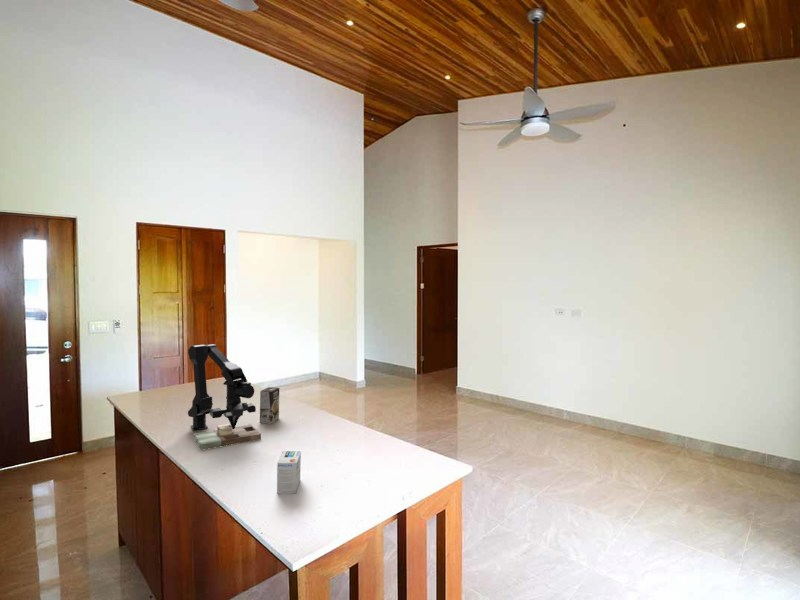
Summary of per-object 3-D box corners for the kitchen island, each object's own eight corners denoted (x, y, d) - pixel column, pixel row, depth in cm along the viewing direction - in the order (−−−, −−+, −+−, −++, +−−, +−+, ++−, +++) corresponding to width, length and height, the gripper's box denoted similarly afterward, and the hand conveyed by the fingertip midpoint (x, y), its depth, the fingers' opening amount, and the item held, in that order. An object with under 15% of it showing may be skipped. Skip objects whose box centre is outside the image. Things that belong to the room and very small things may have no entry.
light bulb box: (281, 479, 162) (282, 450, 161) (300, 479, 162) (301, 450, 162) (276, 494, 151) (276, 462, 150) (296, 493, 152) (297, 462, 151)
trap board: (194, 439, 199) (194, 433, 199) (250, 429, 213) (251, 424, 213) (201, 450, 187) (201, 444, 187) (260, 439, 201) (260, 433, 201)
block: (217, 432, 201) (217, 425, 201) (228, 430, 204) (228, 423, 204) (220, 435, 197) (220, 428, 197) (231, 433, 200) (231, 426, 200)
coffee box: (271, 423, 222) (271, 391, 222) (259, 422, 224) (259, 390, 223) (279, 418, 231) (280, 387, 231) (268, 417, 233) (268, 386, 232)
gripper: (215, 402, 190) (215, 438, 191) (259, 396, 201) (259, 430, 202) (209, 396, 199) (209, 430, 200) (252, 391, 210) (251, 423, 211)
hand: (233, 429), depth 203 cm, fingers closed
